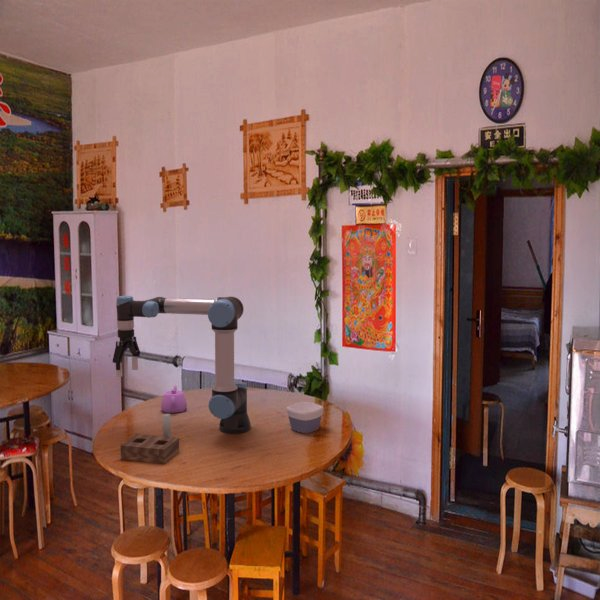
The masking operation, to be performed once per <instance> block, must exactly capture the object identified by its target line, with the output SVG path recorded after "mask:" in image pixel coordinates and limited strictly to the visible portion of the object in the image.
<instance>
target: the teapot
mask: <svg viewBox="0 0 600 600" xmlns="http://www.w3.org/2000/svg"><path fill="white" fill-rule="evenodd" d="M177 388H178V386H177V385H176V384H175V385H174V386H173V389H170V390H169V391H166V392H165V393H164V395H163V397H162V400H161V402H160V403H161V405H160V406H161V407H160V408H161V410H162V412H163V413H165V414H171V413H172V414H175V413H182V412H184V411H186V409H187V407H188V401H187V398H186V396H185V394H184V392H183V391H181V390H178V389H177Z"/></svg>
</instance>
